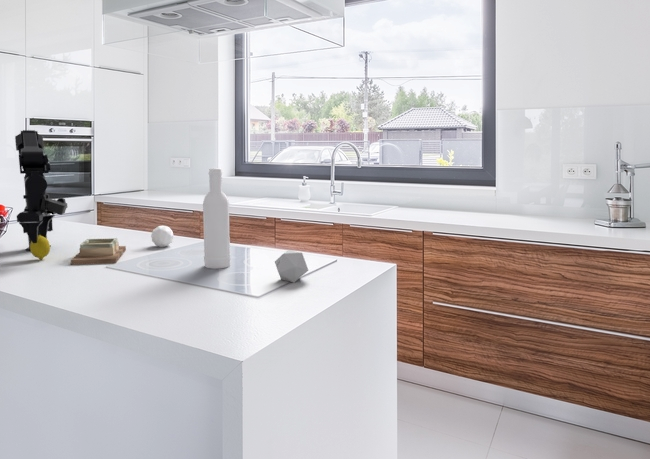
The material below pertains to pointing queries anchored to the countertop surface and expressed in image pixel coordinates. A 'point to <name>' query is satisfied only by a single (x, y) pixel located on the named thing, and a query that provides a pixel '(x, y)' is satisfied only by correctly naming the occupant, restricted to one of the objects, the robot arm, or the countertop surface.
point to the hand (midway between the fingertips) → (39, 240)
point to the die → (291, 266)
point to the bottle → (216, 224)
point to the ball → (162, 236)
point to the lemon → (40, 247)
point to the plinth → (98, 258)
